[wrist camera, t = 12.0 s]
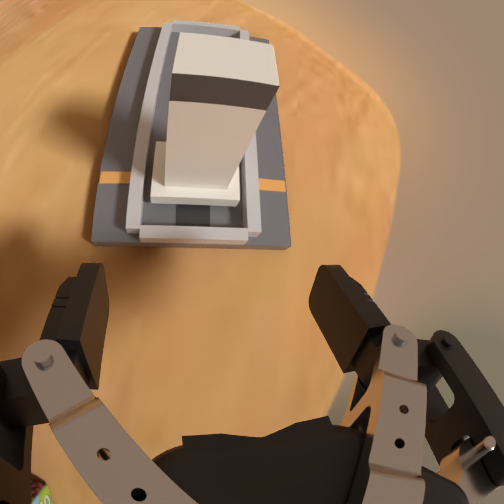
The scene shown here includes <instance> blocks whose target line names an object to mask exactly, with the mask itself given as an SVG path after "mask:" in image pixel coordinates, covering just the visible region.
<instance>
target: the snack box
mask: <svg viewBox="0 0 504 504" xmlns="http://www.w3.org/2000/svg"><path fill="white" fill-rule="evenodd" d="M31 504H53V503H52V500H51V496H50V492H49V488H48V485H47V484H42V483H39V482H35V481H33V480H31Z"/></svg>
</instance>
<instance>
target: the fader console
mask: <svg viewBox="0 0 504 504" xmlns="http://www.w3.org/2000/svg"><path fill="white" fill-rule="evenodd" d="M180 32H182V33H195V34H206V35H215V36H224V37H231V38H238V39H244V40H250V41H256V42H261V43H266V44H269V40H266V39H261V38H256V37H250V36H249V31H246V30H240V27H239V26H232V25H225V24H217V23H208V22H198V21H185V20H173V23H172V22H164V23H163V26H162V28H159V27H140V29H139V31H138V34H137V37H136V39H135V42H134V45H133V48H132V50H131V53H130V56H129V59H128V62H127V65H126V68H125V71H124V74H123V77H122V81H121V84H120V87H119V91H118V94H117V98H116V102H115V105H114V109H113V113H112V117H111V121H110V125H109V129H108V134H107V138H106V143H105V148H104V153H103V158H102V163H101V169H100V174H99V180H98V187H97V193H96V200H95V208H94V216H93V225H92V235H91V242H92V243H93V244H94V246H131V247H179V248H226V249H270V250H286V249H287V248H289V247H291V238H290V225H289V213H288V202H287V191H286V180H285V170H284V160H283V151H282V141H281V132H280V124H279V115H278V107H277V99H276V94H275V95H274V97H273V99H272V101H271V103H270V105H269V107H268V109H267V111H266V112H265V114H264V116H263V118H262V120H261V122H260V124H259V126H258V128H257V130H256V132H255V134H254V136H253V138H252V140H251V142H250V144H249V146H248V148H247V150H246V152H245V154H244V156H243V158H242V160H241V162H240V164H239V184H240V201H239V203H238V204H237V206H236V207H233V206H213V205H189V204H158V203H151V197H150V196H151V184H152V174H153V164H154V155H155V147H156V141H161V142H166V140H167V124H168V111H169V99H170V88H171V78H172V71H173V65H174V60H175V55H176V50H177V45H178V40H179V35H180Z"/></svg>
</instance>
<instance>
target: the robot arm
mask: <svg viewBox="0 0 504 504" xmlns="http://www.w3.org/2000/svg"><path fill="white" fill-rule="evenodd" d="M309 308H310V311H311V313H312V315H313V317H314V319H315V320H316V322H317V324H318V326H319V328H320V330H321V332H322V334H323V335H324V337H325V339H326V341H327V343H328V345H329V347H330V349H331V350H332V352H333V354H334V356H335V358H336V360H337V362H338V364H339V366H340V367H341V369H342V371H343V373H347V372H352V371H356V373H357V375H356V377H355V378H354V382H353V386H352V389H351V393H350V397H349V401H348V405H347V408H346V412H345V416H344V418H343V421H342V422H341V425H332V424H331V421H330V419H329V417H328V416H326V417H321V418H317V419H312V420H308V421H303V422H298V423H295V424H293V425H290V426H288V427H286V428H284V429H282V430H279V431H277V432H275V433H272V434H270V435H268V436H265V437H247V436H237V435H228V434H210V435H194V436H182V443H183V445H181V446H178V447H174V448H172V449H170V450H167V451H165V452H163V453H161V454H159V455H158V456H156V457H155V458H154V459H152V460H151V459H150V458H149V457H148V456H147V455H146V454H145V453H144V451H143V450H142V449H141V448H140V447H139V446H138V445H137V444H136V443H135V441H134V440H133V439H132V438H131V437H130V436H129V435H128V433H127V432H126V431H125V430H124V429H123V427H122V426H121V425H120V424H119V423H118V421H117V420H116V419H115V418H114V416H113V415H112V414H111V413H110V411H109V410H108V409H107V407H106V406H105V405H104V404H103V402H102V401H101V400H100V399H99V398H98V397H97V398H96V397H95V396H94V395H93V393H92V392H91V390H90V389H97V390H98V388H99V378H100V369H101V361H102V354H103V347H104V340H105V334H106V328H107V322H108V316H109V298H108V292H107V285H106V279H105V272H104V266H103V264H102V263H82V264H81V266H80V269H79V271H78V274H77V277H68V278H67V279H66V280H65V281H64V282H63V283H62V284H61V285H60V286H59V289H58V291H57V294H56V296H55V299H54V301H53V304H52V308H51V309H50V312H49V315H48V317H47V320H46V323H45V326H44V329H43V332H42V335H41V338H40V340H39V341H36V342H34V343H32V344H31V345H30V346H28V348H27V349H26V350H25V351H24V353H23V356H22V357H21V358H17V359H12V360H7V361H1V362H0V504H31V450H32V435H33V425H38V424H44V423H49V422H50V424H49V426H50V428H51V430H52V432H53V434H54V435H55V437H56V439H57V440H58V442H59V444H60V445H61V447H62V448H63V450H64V452H65V453H66V455H67V456H68V458H69V459H70V461H71V462H72V464H73V465H74V467H75V468H76V469H77V471H78V472H79V474H80V475H81V476H82V478H83V479H84V480H85V482H86V483H87V485H88V486H89V487H90V488H91V490H92V491H93V492H94V494H95V495H96V496H97V497H98V499H99V500H100V501H101V502H102V503H103V504H478V503H479V502H480V501H482V500H483V499H484V498H485V497H487V496H488V495H489V494H490V493H492V492H494V491H496V490H497V489H499V488H501V487H502V486H504V407H503V405H502V403H501V402H500V400H499V399H498V397H497V395H496V394H495V392H494V391H493V389H492V388H491V386H490V385H489V383H488V382H487V380H486V379H485V377H484V376H483V374H482V373H481V371H480V370H479V368H478V367H477V366H476V364H475V363H474V361H473V360H472V359H471V357H470V356H469V354H468V353H467V352H466V351H465V349H464V347H463V346H462V345H461V343H460V342H459V341H458V340H457V338H456V337H455V336H453V335H452V334H450V333H449V332H446V331H442V330H439V331H436V332H435V333H434V334H433V336H432V337H431V339H430V340H420V339H416V338H415V336H414V335H413V334H412V332H411V331H409V330H408V329H406V328H405V327H402V326H399V325H391V324H390V322H389V321H388V320H387V318H386V317H385V316H384V314H383V313H382V312H381V310H380V309H379V308H378V307H377V305H376V304H375V302H373V300H372V298H371V297H370V296H369V295H367V292H366V291H365V289H364V288H363V287H362V285H361V284H359V283H358V282H357V281H355V280H354V279H353V278H351V277H349V276H348V274H347V273H346V272H345V270H344V269H343V268H342V267H341V266H340V265H321V266H320V267H319V269H318V271H317V274H316V277H315V281H314V284H313V287H312V290H311V293H310V296H309ZM441 377H444V379H445V380H446V382H447V383H448V385H449V387H450V388H451V390H452V391H453V393H454V397H455V400H454V404H453V405H452V407H451V408H450V409H449V408H448V406H447V404H446V403H445V401H444V399H443V397H442V396H441V394H440V393H439V391H438V389H437V388H436V386H435V385H436V384H437V382H438V381H439V380H440V379H441ZM425 437H426V439H427V441H428V443H429V445H430V447H431V449H432V451H433V453H434V455H435V457H436V460H437V462H438V464H439V466H440V471H438V472H437V473H435V472H433V471H431V470H429V469H427V468H425V467H423V466H422V459H423V449H424V439H425Z"/></svg>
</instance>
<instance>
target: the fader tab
mask: <svg viewBox="0 0 504 504" xmlns="http://www.w3.org/2000/svg"><path fill="white" fill-rule="evenodd" d="M278 88H279V79H278V72H277V66H276V59H275V53H274V46H273V45H271V44H266V43H261V42H256V41H250V40H244V39H238V38H231V37H224V36H215V35H206V34H195V33H182V32H180V35H179V40H178V45H177V50H176V55H175V60H174V65H173V71H172V78H171V88H170V99H169V111H168V124H167V140H166V142H161V141H156V147H155V155H154V164H153V174H152V184H151V196H150V197H151V203H158V204H189V205H213V206H233V207H236V206H237V204H238V203H239V201H240V184H239V164H240V162H241V160H242V158H243V156H244V154H245V152H246V150H247V148H248V146H249V144H250V142H251V140H252V138H253V136H254V134H255V132H256V130H257V128H258V126H259V124H260V122H261V120H262V118H263V116H264V114H265V112H266V111H267V109H268V107H269V105H270V103H271V101H272V99H273V97H274V95H275V94H276V92H277V90H278Z"/></svg>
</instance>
